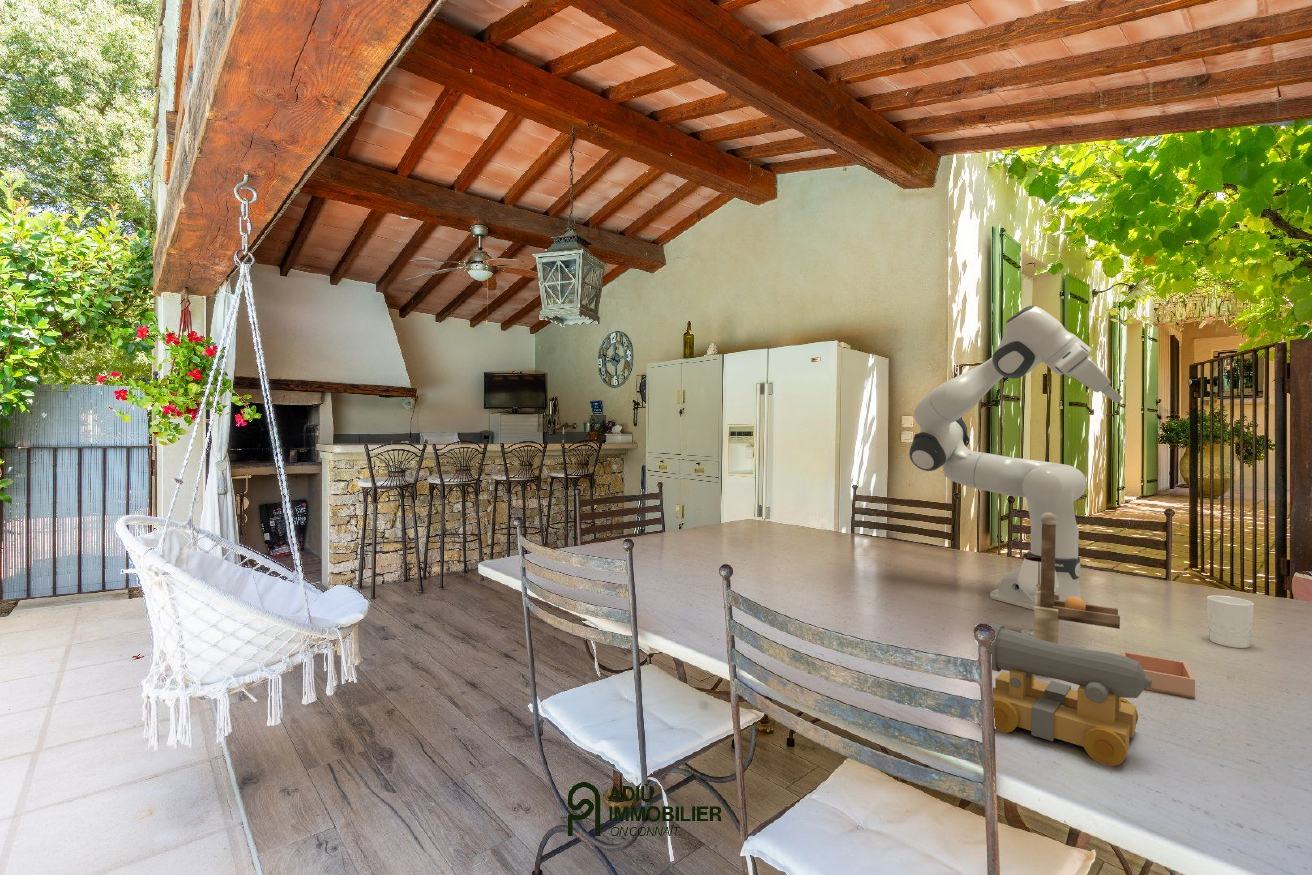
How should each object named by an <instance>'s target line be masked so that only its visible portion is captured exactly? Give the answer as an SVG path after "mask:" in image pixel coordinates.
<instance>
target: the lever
mask: <svg viewBox="0 0 1312 875" xmlns="http://www.w3.org/2000/svg"><path fill="white" fill-rule="evenodd" d="M1057 521H1058V519H1057V516H1056V515H1055V514H1053V513H1050V512H1047V513H1044V514H1043V515H1042V516H1041V522H1042V545H1041V592H1040V607H1046V608H1052V609H1058V619H1059V621H1066V622H1073V623H1078V624H1079V623H1080V624H1086V625H1091V626H1099V627H1103V628H1104V627H1105V628H1110V629H1111V628H1112V629H1119V630H1120V629H1121V628H1120V627H1121V615H1119V608H1116V607H1108V606H1104V605H1103V606H1101V605H1094V604H1087V603H1085V605H1086V609H1085V611H1084V610H1078V609H1071V608H1065V601H1060V600H1054V589H1055V542H1056V524H1057Z"/></svg>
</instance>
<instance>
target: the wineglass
mask: <svg viewBox="0 0 1312 875" xmlns="http://www.w3.org/2000/svg"><path fill="white" fill-rule="evenodd" d="M1021 565H1022V566H1021ZM1021 565H1020V566H1021V569H1020V572H1019V576H1018V585H1019V587H1020V589H1021V590H1022V591H1023V592H1024V593H1025V594H1026V595H1027V596H1028V597H1029V598H1030V599H1031V600H1032V601H1033V602H1034V604H1035V606H1037V592H1038V591H1041V558H1039V557H1025V558H1024V560H1023V559H1022V563H1021ZM1057 590H1058V578H1057V574H1056V571H1055V589H1054V593H1056V591H1057ZM1020 633H1021V634H1024V635H1027V636H1030V637H1033V638H1034V629H1022V630H1021V631H1020Z"/></svg>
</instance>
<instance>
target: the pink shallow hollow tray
mask: <svg viewBox="0 0 1312 875" xmlns="http://www.w3.org/2000/svg"><path fill="white" fill-rule="evenodd" d="M1120 655H1121V656H1126V657H1128V658H1130V659H1133V660H1135V661H1137V662H1139V663H1140V665H1141V667H1142V668H1143V670H1144V673H1145V676H1147V677H1149V678H1151V679H1152V687H1151V688H1144V690H1147V691H1152V692H1156V693H1162V694H1168V695H1172V696H1177V697H1183V698H1186V699H1187V698H1188V699H1191V700H1192V699H1193V700H1194V699H1195V696H1196V678H1195V676H1194V675H1193V673H1192V670H1191V669H1190V667H1189V665H1188V662H1186V661H1182V660H1181V661H1180V660H1175V659H1170V658H1165V657H1164V658H1163V657H1157V656H1151V655H1145V654H1140V653H1136V652H1135V653H1134V652H1128V651H1123V650H1121V651H1120Z"/></svg>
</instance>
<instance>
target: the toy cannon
mask: <svg viewBox="0 0 1312 875" xmlns="http://www.w3.org/2000/svg"><path fill="white" fill-rule="evenodd" d="M988 625H989V626H991V627H992V629H994V631H995V633H996V639H995V641H994V642H993V643H992V645H991V654H992V670H991V671H993V672H1000V673H999V674H998V676H996V677H995V684H994V686H995V687H994V686H992V687H993V707H994V718H995V727H996V730H995V731H998V732H1001V733H1005V734H1007V733H1011V732H1013V731H1014V730H1016V728H1017V727H1018V728H1020V729H1025V730H1026V731H1027V730H1028V731H1031V732H1030V735H1031V736H1034V737H1038V738H1040V739H1044V740H1046V741H1050V742H1054V740H1055V739H1057V740H1061V741H1064V742H1067V743H1070V744H1072V745H1073V744H1074V745H1076V746H1081V747H1083V748H1084V750H1085V752H1086V754H1088V756H1089V757H1090V758H1091V759H1092V760H1094V761H1095V762H1097V763H1100V764H1103V765H1106V766H1109V767H1114V766H1119V765H1121V764H1122V763H1123V762H1124V761H1125V760H1126V758H1127V755H1128V752H1129V749H1130V738H1131V739H1132V738H1133V737H1134V735H1135V731H1136V728H1137V724H1138V720H1139V713H1138V709H1137V705H1134V704H1132V703H1131V702H1130V701H1129V700H1127V699H1138V698H1139V696H1141V694H1142V693H1143V692H1144V690H1145V689H1144V688H1151V687H1152V679H1151V678H1149V677H1147V676H1145V673H1144V670H1143V668H1142V667H1141V665H1140V663H1139V662H1137V661H1135V660H1133V659H1130V658H1128V657H1126V656H1121V654H1116V653H1112V652H1108V651H1107V652H1106V651H1101V650H1100V651H1099V650H1093V649H1086V648H1080V647H1074V646H1068V645H1063V644H1059V643H1058V644H1056V643H1052V642H1048V641H1044V640H1040V639H1036V638H1033V637H1030V636H1027V635H1024V634H1022V633H1021V632H1019V631H1013V630H1010V629H1008V628H1006V627H1005V625H1003V624H998V623H997V624H996V623H989V624H988ZM1002 670H1003V671H1002ZM1005 671H1008V672H1005ZM1035 675H1036V676H1040V677H1045V678H1049V679H1055V680H1059V681H1063V682H1067V683H1070V684H1073V685H1077V686H1078V688H1077V690H1076V689H1072V686H1071V685H1070V684H1066V683H1062V682H1059V681H1058V682H1057V681H1054V680H1051V681H1050V682H1044V681H1040V680H1038V679H1037V680H1036V679H1035Z"/></svg>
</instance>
